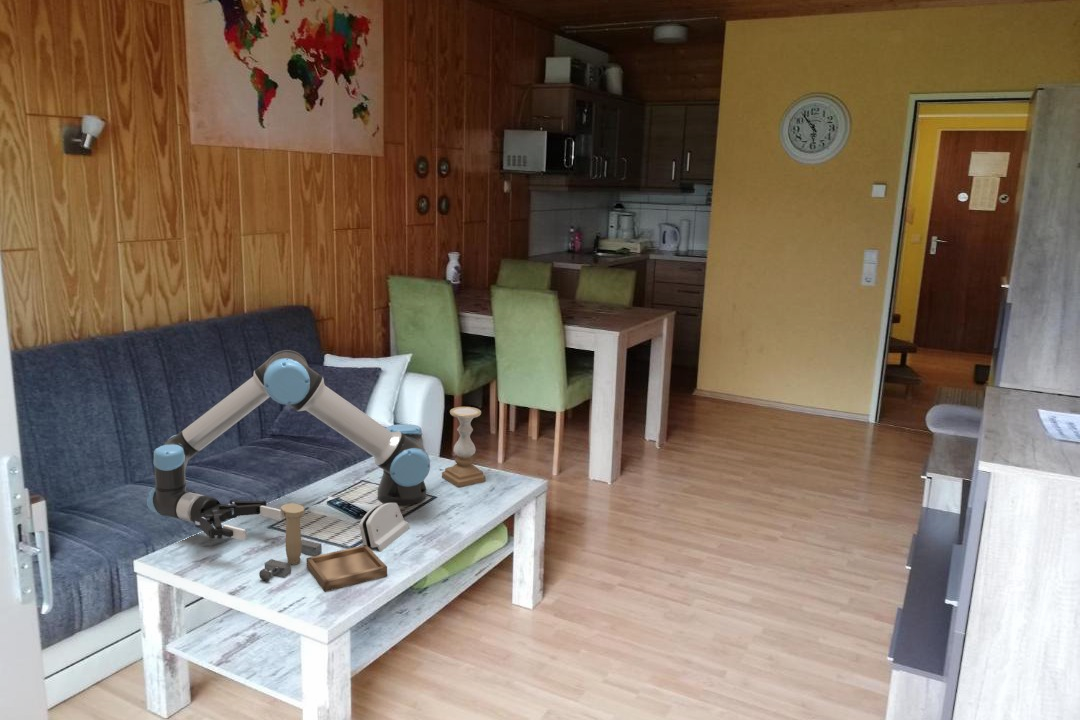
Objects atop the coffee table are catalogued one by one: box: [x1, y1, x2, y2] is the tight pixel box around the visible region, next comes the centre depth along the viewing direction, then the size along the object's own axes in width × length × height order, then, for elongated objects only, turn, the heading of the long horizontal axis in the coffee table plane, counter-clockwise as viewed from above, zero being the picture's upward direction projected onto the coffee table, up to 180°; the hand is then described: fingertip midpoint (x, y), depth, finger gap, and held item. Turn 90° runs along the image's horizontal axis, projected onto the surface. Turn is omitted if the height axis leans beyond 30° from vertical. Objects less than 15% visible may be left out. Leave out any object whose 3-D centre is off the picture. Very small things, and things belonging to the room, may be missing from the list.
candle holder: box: [441, 406, 487, 488], centre depth 263 cm, size 11×11×24 cm
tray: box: [305, 545, 388, 592], centre depth 201 cm, size 16×14×2 cm
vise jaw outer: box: [258, 558, 292, 582], centre depth 197 cm, size 6×6×3 cm
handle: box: [280, 502, 306, 565], centre depth 203 cm, size 5×6×15 cm
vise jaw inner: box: [301, 539, 323, 557], centre depth 210 cm, size 2×6×2 cm, turn 69°
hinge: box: [358, 503, 411, 553], centre depth 221 cm, size 17×5×10 cm, turn 160°
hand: (263, 524), depth 206 cm, fingers open, 13 cm apart
